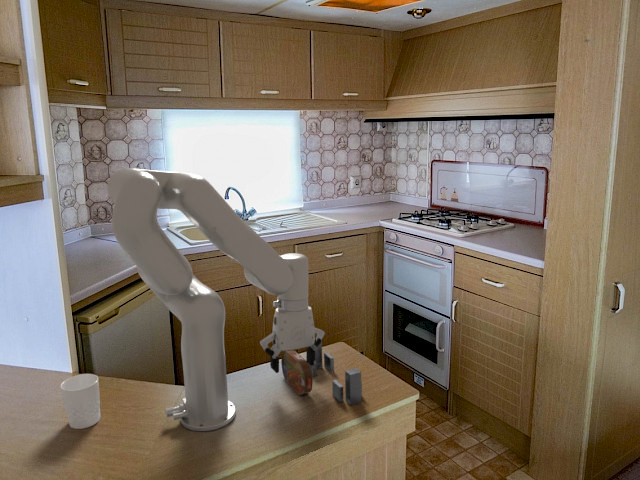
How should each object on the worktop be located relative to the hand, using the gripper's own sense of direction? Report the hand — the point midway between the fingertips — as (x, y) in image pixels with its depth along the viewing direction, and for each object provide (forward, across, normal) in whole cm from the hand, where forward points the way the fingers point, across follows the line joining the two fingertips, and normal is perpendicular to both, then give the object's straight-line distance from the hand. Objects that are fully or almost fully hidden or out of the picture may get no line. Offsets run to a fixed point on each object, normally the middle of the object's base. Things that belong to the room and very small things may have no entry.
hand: (293, 367), depth 131 cm
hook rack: (+5, +10, -3) cm, 12 cm away
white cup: (+8, -49, +9) cm, 50 cm away
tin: (+6, +1, 0) cm, 6 cm away
